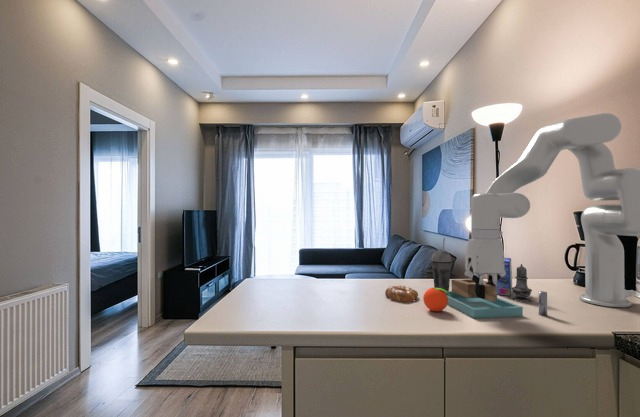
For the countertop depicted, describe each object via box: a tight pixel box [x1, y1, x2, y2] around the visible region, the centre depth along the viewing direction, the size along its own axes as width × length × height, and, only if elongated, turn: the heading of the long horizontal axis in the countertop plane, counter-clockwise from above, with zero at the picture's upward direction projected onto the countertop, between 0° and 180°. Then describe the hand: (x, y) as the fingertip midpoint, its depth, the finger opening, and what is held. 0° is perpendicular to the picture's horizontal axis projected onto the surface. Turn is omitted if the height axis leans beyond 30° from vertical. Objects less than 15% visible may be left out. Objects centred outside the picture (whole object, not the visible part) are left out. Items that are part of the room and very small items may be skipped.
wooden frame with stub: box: [450, 278, 498, 301], centre depth 100 cm, size 9×14×4 cm, turn 9°
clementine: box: [422, 287, 451, 313], centre depth 97 cm, size 8×7×7 cm
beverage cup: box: [430, 237, 453, 292], centre depth 118 cm, size 7×7×20 cm
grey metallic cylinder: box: [538, 290, 548, 317], centre depth 93 cm, size 2×2×6 cm
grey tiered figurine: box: [511, 263, 533, 303], centre depth 109 cm, size 6×6×12 cm
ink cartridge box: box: [495, 257, 513, 297], centre depth 119 cm, size 10×6×14 cm, turn 148°
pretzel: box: [384, 285, 419, 303], centre depth 112 cm, size 12×11×4 cm
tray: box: [445, 290, 524, 320], centre depth 101 cm, size 15×20×2 cm
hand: (485, 296), depth 97 cm, fingers closed on wooden frame with stub, 2 cm apart
